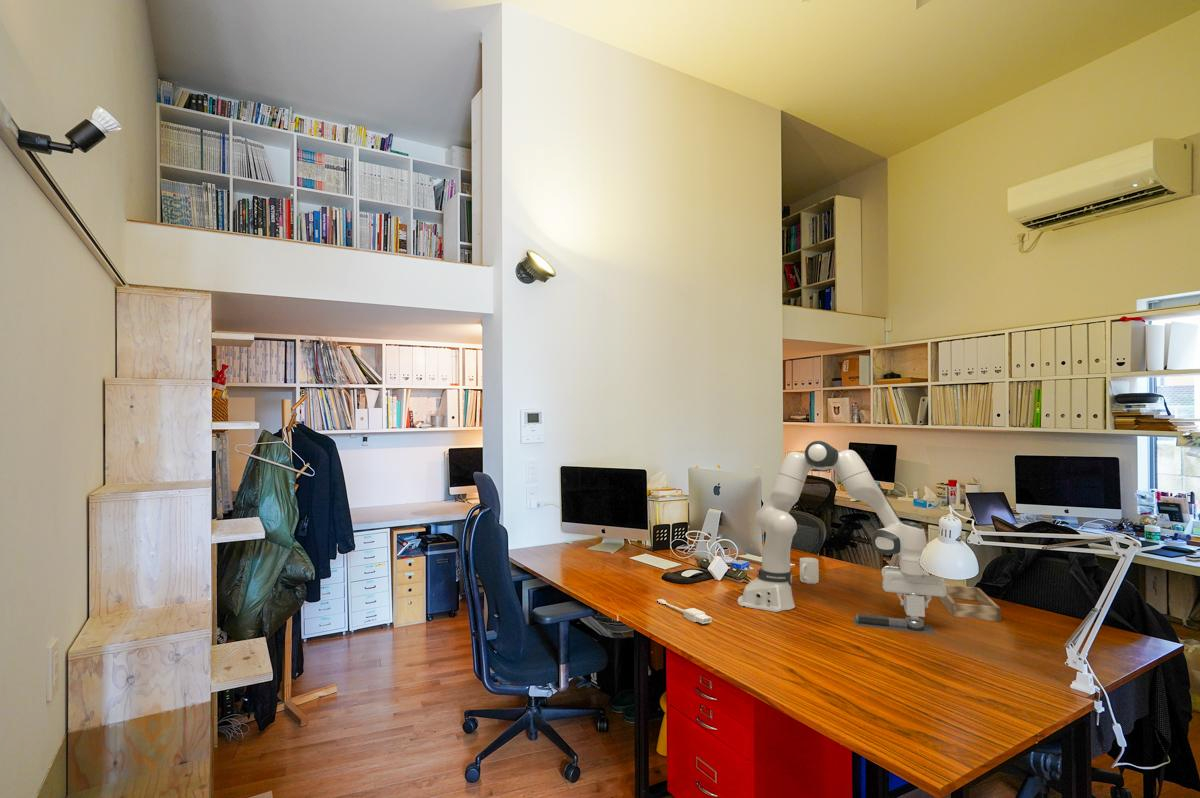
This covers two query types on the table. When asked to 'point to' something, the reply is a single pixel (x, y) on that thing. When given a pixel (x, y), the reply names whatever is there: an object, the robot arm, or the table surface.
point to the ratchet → (892, 621)
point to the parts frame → (983, 611)
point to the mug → (809, 570)
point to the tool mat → (926, 628)
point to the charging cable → (691, 613)
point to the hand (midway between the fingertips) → (914, 606)
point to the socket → (914, 604)
